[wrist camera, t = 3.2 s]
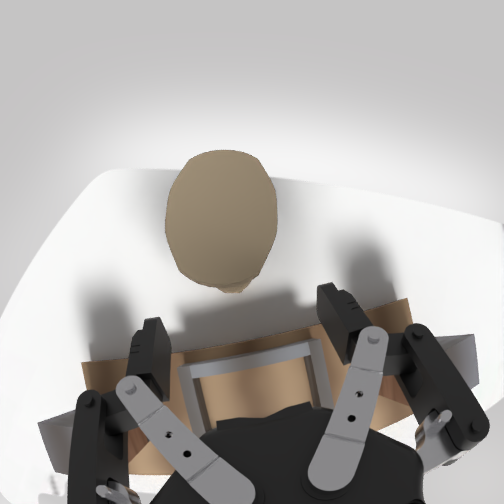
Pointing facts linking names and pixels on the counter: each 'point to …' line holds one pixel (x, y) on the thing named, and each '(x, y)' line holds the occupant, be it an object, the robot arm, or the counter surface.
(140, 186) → the counter surface
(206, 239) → the handle
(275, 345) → the brown and grey holder
